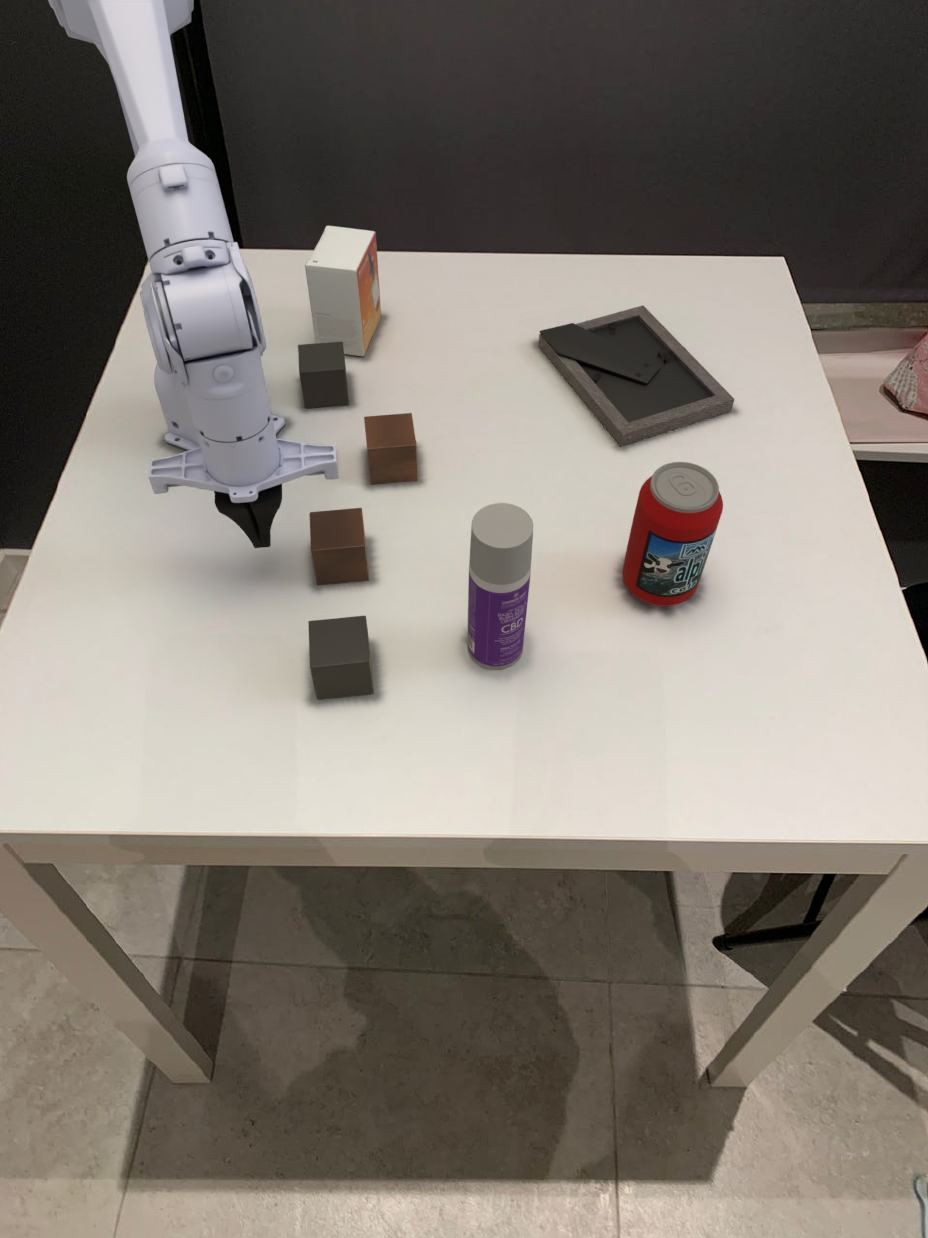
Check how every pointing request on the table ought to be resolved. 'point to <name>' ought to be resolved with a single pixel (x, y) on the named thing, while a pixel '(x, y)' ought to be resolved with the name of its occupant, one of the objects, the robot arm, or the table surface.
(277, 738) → the table surface
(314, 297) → the small box
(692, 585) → the beverage can
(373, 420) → the walnut block
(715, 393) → the picture frame
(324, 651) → the charcoal front block
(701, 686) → the table surface
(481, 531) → the container
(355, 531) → the walnut block
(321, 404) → the charcoal end block
